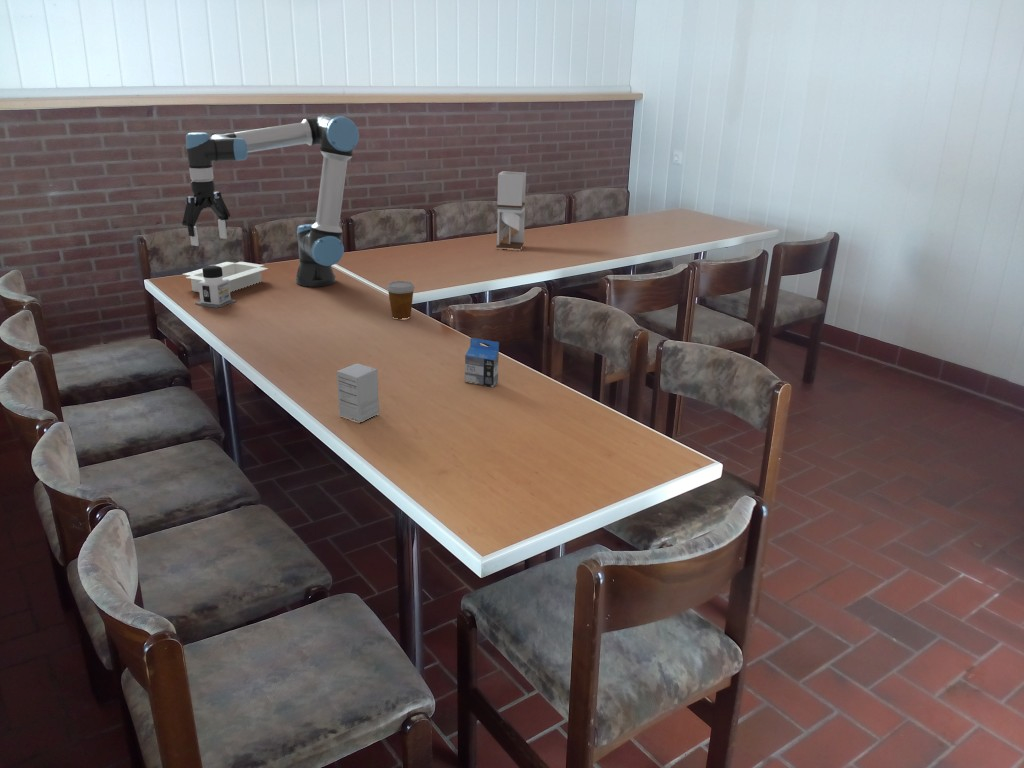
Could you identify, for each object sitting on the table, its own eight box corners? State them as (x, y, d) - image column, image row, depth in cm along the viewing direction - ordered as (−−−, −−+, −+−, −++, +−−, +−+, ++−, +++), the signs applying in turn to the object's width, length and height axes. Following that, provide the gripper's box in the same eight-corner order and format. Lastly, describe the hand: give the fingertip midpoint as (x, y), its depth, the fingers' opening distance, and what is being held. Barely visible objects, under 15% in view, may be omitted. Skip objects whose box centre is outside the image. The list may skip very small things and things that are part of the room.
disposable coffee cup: (393, 323, 279) (392, 289, 275) (383, 315, 287) (382, 282, 283) (419, 319, 284) (418, 286, 279) (409, 312, 291) (408, 279, 287)
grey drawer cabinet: (359, 407, 213) (356, 362, 208) (380, 415, 209) (378, 368, 204) (338, 417, 207) (335, 370, 202) (359, 424, 203) (357, 377, 198)
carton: (274, 281, 325) (273, 266, 322) (221, 299, 300) (220, 283, 298) (233, 274, 333) (231, 260, 330) (178, 291, 308) (176, 275, 306)
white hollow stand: (496, 249, 388) (497, 174, 375) (500, 245, 398) (502, 171, 385) (520, 251, 387) (522, 175, 373) (523, 246, 396) (526, 172, 383)
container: (219, 305, 291) (215, 269, 286) (200, 303, 293) (195, 267, 288) (231, 299, 298) (227, 264, 293) (212, 297, 300) (208, 262, 295)
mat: (236, 301, 298) (236, 300, 298) (216, 308, 290) (216, 306, 289) (215, 297, 302) (215, 296, 302) (195, 304, 293) (195, 302, 293)
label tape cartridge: (464, 382, 231) (464, 341, 226) (469, 378, 234) (470, 337, 230) (493, 387, 228) (494, 346, 223) (498, 383, 231) (499, 341, 227)
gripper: (220, 174, 291) (226, 234, 299) (165, 183, 270) (174, 247, 278) (236, 176, 289) (242, 236, 297) (182, 185, 267) (190, 249, 275)
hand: (209, 241), depth 287 cm, fingers open, 13 cm apart
